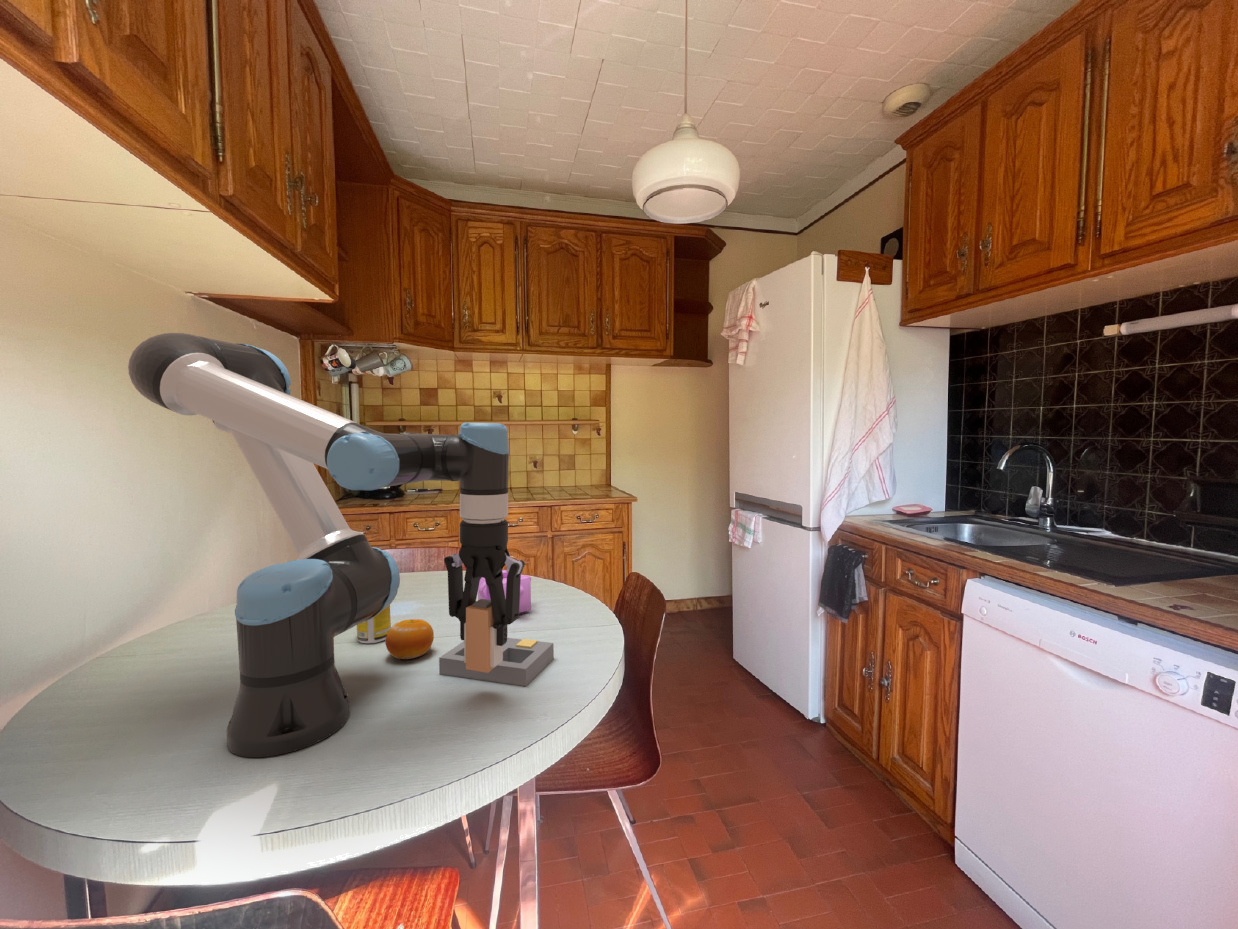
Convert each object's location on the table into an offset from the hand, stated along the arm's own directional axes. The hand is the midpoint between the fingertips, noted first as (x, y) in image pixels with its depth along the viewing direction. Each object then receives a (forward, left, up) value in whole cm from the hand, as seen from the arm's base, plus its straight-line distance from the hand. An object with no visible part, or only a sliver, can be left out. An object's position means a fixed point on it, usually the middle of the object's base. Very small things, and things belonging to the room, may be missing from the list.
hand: (483, 661), depth 85 cm
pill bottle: (+15, +35, -6) cm, 39 cm away
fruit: (+10, +22, -6) cm, 25 cm away
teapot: (+38, +17, -6) cm, 42 cm away
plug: (0, 0, -1) cm, 1 cm away
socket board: (+10, +3, -6) cm, 12 cm away
